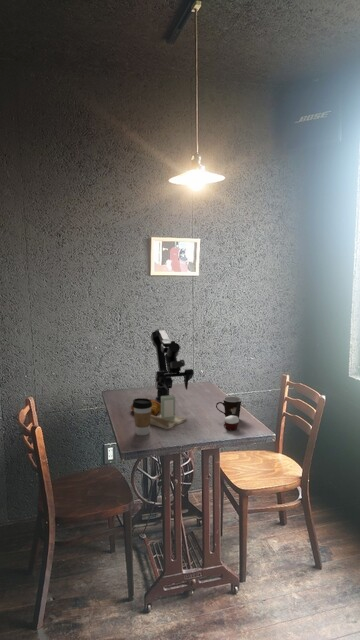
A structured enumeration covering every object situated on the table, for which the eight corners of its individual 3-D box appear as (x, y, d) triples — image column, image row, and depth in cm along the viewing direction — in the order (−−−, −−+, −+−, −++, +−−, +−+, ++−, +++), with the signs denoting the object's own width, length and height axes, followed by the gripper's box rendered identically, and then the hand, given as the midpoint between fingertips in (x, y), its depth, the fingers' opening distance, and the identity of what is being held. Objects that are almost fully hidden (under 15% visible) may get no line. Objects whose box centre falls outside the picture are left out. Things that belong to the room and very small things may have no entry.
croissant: (141, 423, 204) (141, 408, 202) (126, 410, 217) (127, 396, 215) (166, 417, 212) (167, 402, 210) (151, 404, 224) (152, 390, 222)
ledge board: (165, 414, 210) (165, 407, 209) (186, 420, 201) (186, 412, 201) (146, 422, 199) (146, 414, 198) (167, 429, 191) (167, 420, 190)
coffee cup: (133, 429, 190) (132, 397, 188) (152, 429, 191) (151, 396, 189) (132, 437, 182) (132, 403, 180) (152, 436, 183) (152, 402, 181)
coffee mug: (242, 417, 206) (243, 397, 205) (239, 423, 198) (239, 402, 197) (219, 414, 210) (219, 395, 208) (215, 420, 202) (215, 400, 200)
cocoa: (224, 433, 187) (224, 407, 185) (220, 427, 193) (219, 402, 191) (244, 430, 189) (244, 404, 187) (240, 424, 195) (239, 400, 193)
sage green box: (160, 418, 202) (160, 396, 200) (173, 417, 203) (172, 395, 202) (162, 421, 198) (162, 398, 197) (175, 419, 200) (174, 397, 198)
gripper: (156, 355, 205) (161, 383, 196) (192, 353, 210) (199, 380, 201) (153, 367, 214) (157, 394, 204) (188, 365, 219) (194, 391, 209)
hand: (177, 390), depth 205 cm, fingers open, 9 cm apart
